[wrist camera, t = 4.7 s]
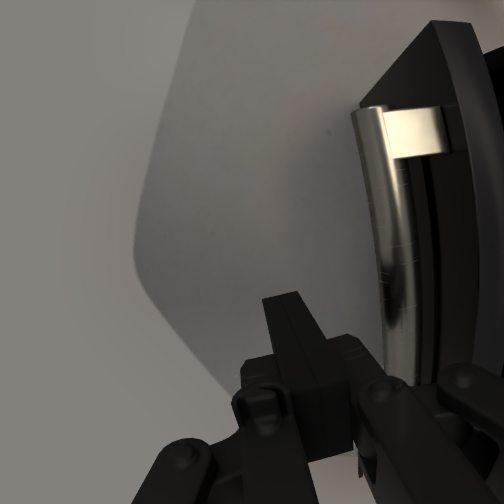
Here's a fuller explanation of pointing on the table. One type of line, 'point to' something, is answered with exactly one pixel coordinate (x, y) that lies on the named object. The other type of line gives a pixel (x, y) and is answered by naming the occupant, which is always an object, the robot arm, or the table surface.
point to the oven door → (436, 205)
